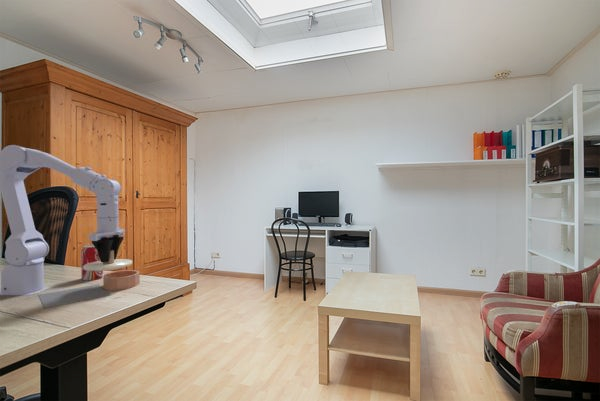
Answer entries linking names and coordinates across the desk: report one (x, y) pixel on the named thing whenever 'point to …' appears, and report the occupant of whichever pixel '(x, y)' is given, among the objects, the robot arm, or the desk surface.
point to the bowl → (121, 279)
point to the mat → (72, 295)
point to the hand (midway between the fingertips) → (108, 260)
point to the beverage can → (89, 256)
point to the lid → (108, 264)
